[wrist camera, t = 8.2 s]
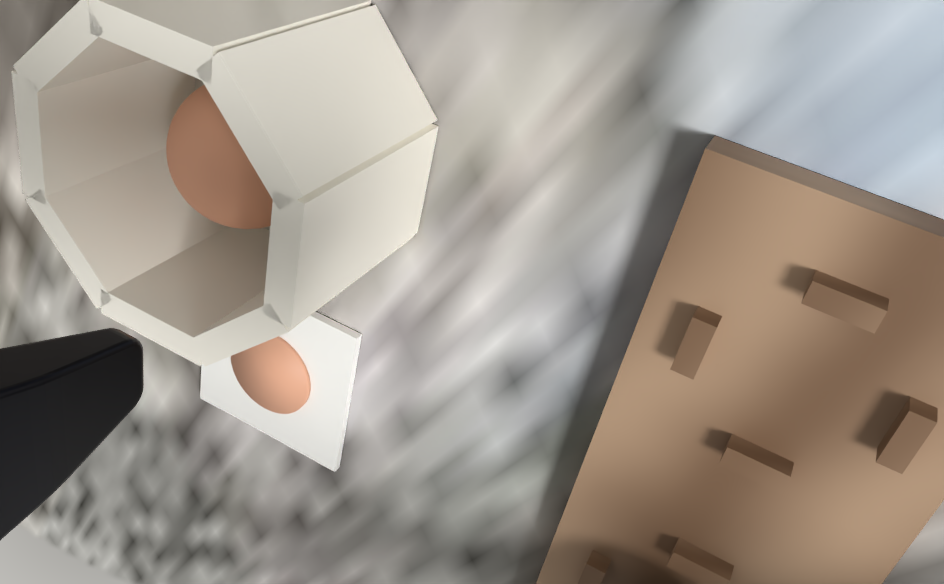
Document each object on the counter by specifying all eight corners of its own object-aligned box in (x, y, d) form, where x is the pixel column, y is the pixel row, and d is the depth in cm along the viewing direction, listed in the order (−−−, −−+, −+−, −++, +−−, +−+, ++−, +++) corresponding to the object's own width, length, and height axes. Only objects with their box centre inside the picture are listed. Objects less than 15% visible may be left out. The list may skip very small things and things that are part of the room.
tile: (361, 334, 27) (353, 341, 27) (339, 466, 31) (331, 475, 30) (211, 260, 29) (201, 266, 28) (205, 394, 32) (196, 401, 32)
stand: (1089, 273, 18) (1099, 308, 16) (751, 739, 27) (742, 783, 26) (715, 135, 20) (698, 156, 18) (527, 613, 30) (508, 648, 28)
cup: (457, 32, 21) (317, 89, 17) (403, 303, 26) (281, 409, 21) (191, -66, 24) (0, -40, 19) (184, 200, 28) (30, 275, 23)
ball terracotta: (360, 88, 23) (269, 131, 19) (342, 218, 25) (257, 276, 22) (236, 40, 24) (130, 73, 20) (229, 169, 26) (132, 218, 23)
